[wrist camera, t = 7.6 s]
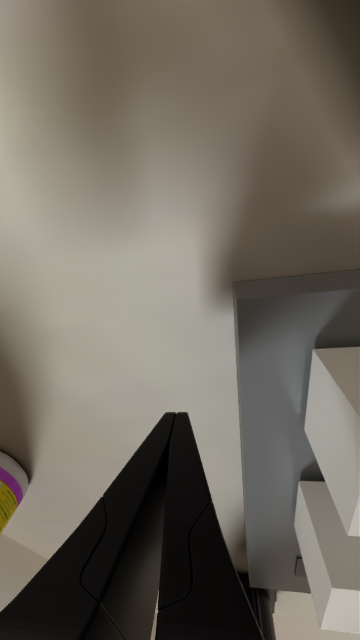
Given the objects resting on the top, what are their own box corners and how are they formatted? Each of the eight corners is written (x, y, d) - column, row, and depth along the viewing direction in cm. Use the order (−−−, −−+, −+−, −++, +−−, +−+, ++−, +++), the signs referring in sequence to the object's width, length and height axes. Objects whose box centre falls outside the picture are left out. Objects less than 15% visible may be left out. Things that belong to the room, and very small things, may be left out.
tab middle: (353, 529, 13) (402, 639, 10) (293, 525, 13) (320, 628, 10) (368, 483, 11) (432, 598, 8) (298, 480, 12) (332, 587, 8)
